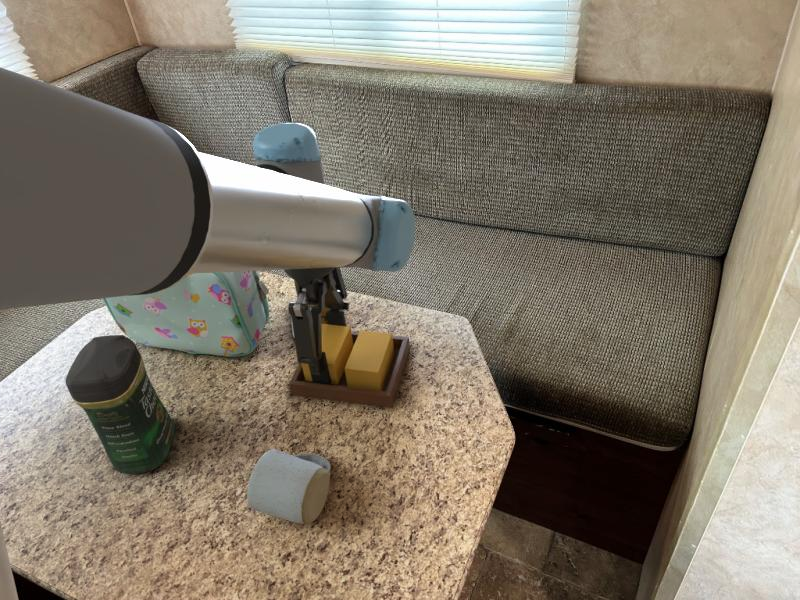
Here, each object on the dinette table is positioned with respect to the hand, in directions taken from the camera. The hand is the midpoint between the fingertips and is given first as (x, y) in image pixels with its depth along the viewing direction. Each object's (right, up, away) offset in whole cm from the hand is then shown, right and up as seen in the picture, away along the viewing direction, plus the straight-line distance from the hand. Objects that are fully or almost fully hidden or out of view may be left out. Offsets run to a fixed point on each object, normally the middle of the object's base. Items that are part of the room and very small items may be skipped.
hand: (331, 362), depth 94 cm
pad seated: (+6, -1, -1) cm, 6 cm away
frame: (+3, -1, 0) cm, 4 cm away
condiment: (-4, +6, +11) cm, 13 cm away
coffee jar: (-25, -11, -8) cm, 29 cm away
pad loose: (0, 0, 0) cm, 0 cm away
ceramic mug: (-2, -16, -16) cm, 22 cm away
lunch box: (-23, +3, +10) cm, 25 cm away
